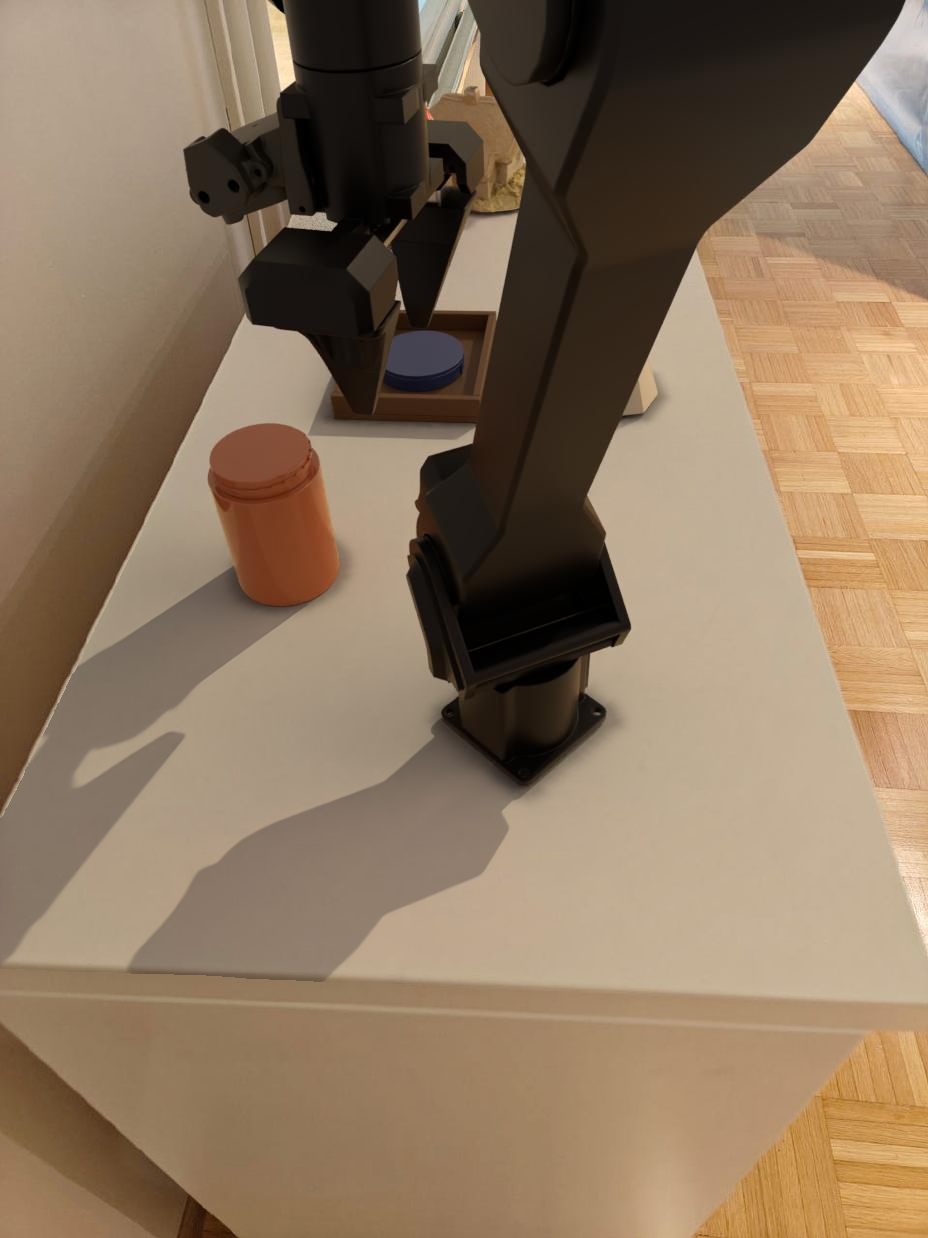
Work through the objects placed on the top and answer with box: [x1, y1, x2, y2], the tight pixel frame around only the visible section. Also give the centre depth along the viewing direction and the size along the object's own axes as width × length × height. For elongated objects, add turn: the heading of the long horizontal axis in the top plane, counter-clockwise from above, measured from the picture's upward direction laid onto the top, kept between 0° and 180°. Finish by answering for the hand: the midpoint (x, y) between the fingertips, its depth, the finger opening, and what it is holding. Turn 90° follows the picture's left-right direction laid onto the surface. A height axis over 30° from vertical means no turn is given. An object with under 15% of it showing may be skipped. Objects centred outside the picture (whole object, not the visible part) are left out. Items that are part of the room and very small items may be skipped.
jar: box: [207, 422, 341, 607], centre depth 55 cm, size 6×6×9 cm
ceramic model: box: [428, 85, 526, 213], centre depth 94 cm, size 14×11×10 cm
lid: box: [383, 331, 464, 392], centre depth 72 cm, size 7×7×1 cm
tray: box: [330, 309, 498, 423], centre depth 73 cm, size 13×11×2 cm
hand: (393, 367), depth 51 cm, fingers open, 9 cm apart
